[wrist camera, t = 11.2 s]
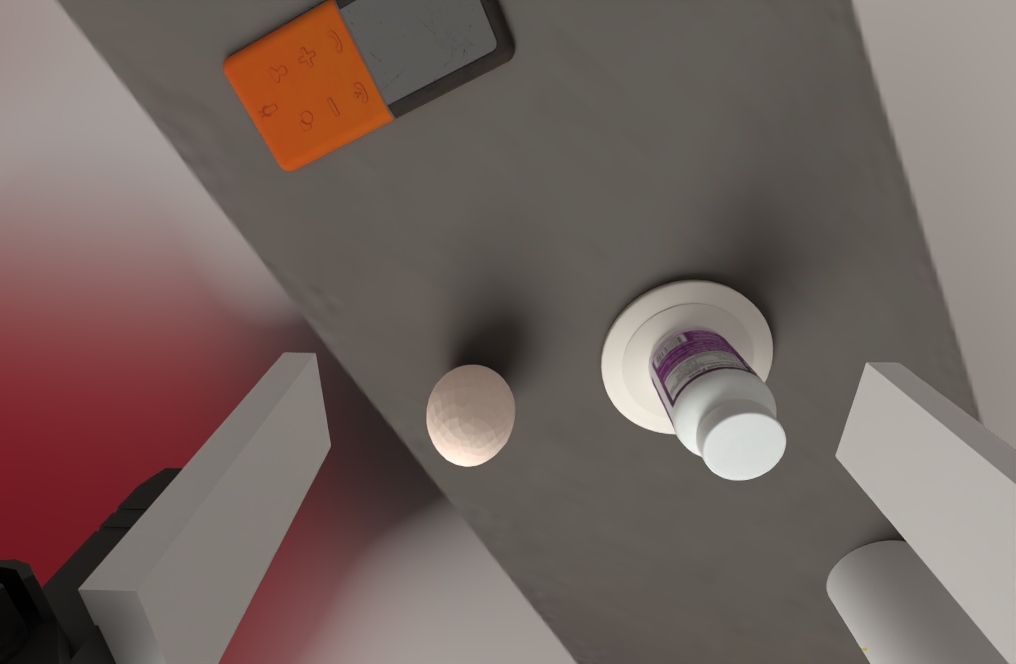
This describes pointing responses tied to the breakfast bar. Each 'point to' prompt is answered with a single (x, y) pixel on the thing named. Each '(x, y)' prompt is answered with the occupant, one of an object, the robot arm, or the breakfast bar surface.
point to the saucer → (661, 315)
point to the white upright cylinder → (904, 609)
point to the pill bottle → (717, 403)
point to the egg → (470, 414)
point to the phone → (361, 68)
